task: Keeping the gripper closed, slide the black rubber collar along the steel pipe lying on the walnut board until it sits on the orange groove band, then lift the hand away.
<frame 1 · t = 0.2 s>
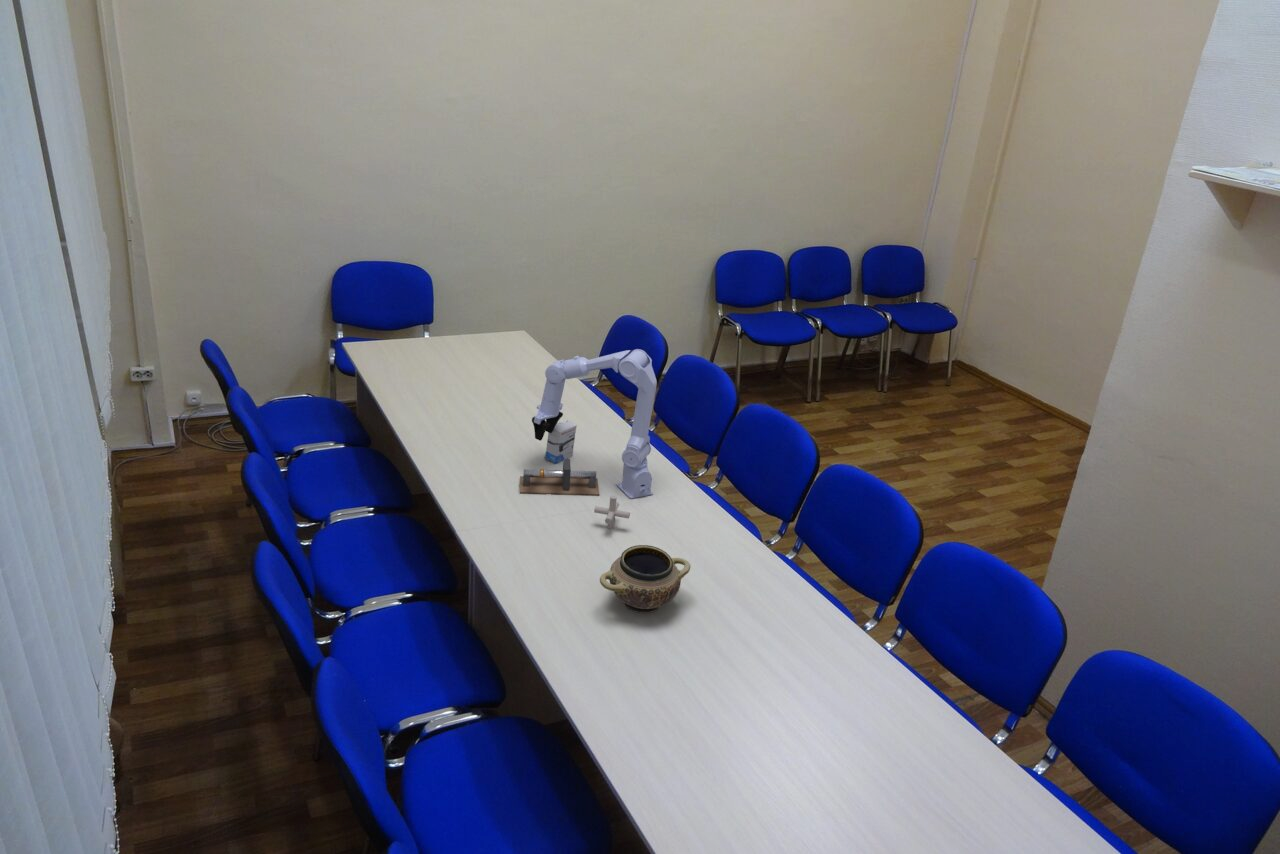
hand: (543, 435, 290), 11 cm above the table, tool pointing down, fingers open, 6 cm apart
walnut board: (559, 486, 283), on the table
ink box: (558, 457, 300), on the table, touching gripper
rubber collar: (566, 474, 281), point 4 cm above the table, slide at -2.0 cm
pipe connector: (610, 528, 264), on the table
ceramic bowl: (642, 603, 232), on the table
steel pipe: (559, 477, 281), on the walnut board, point 3 cm above the table
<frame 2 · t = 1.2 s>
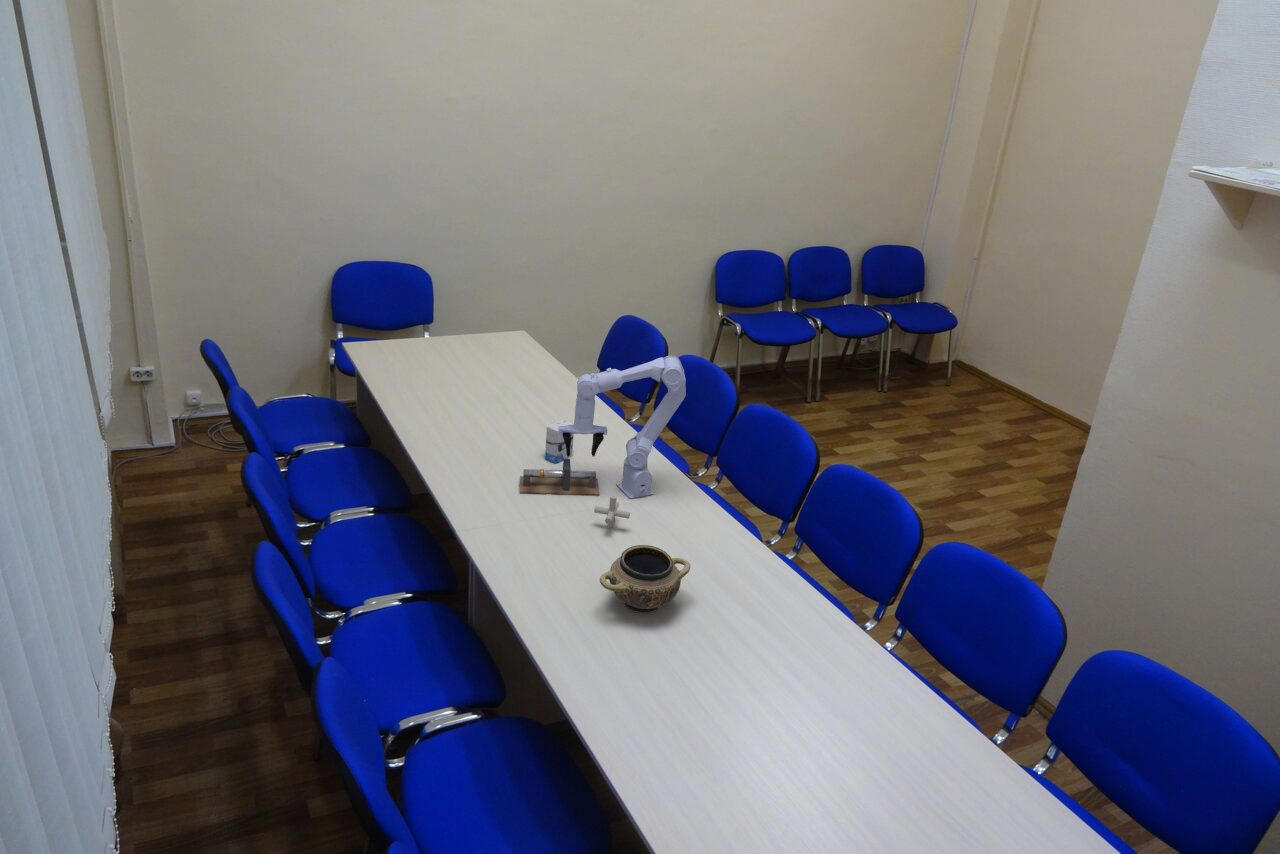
hand: (580, 455, 280), 11 cm above the table, tool pointing down, fingers open, 7 cm apart
ink box: (558, 458, 300), on the table
everything else where it was.
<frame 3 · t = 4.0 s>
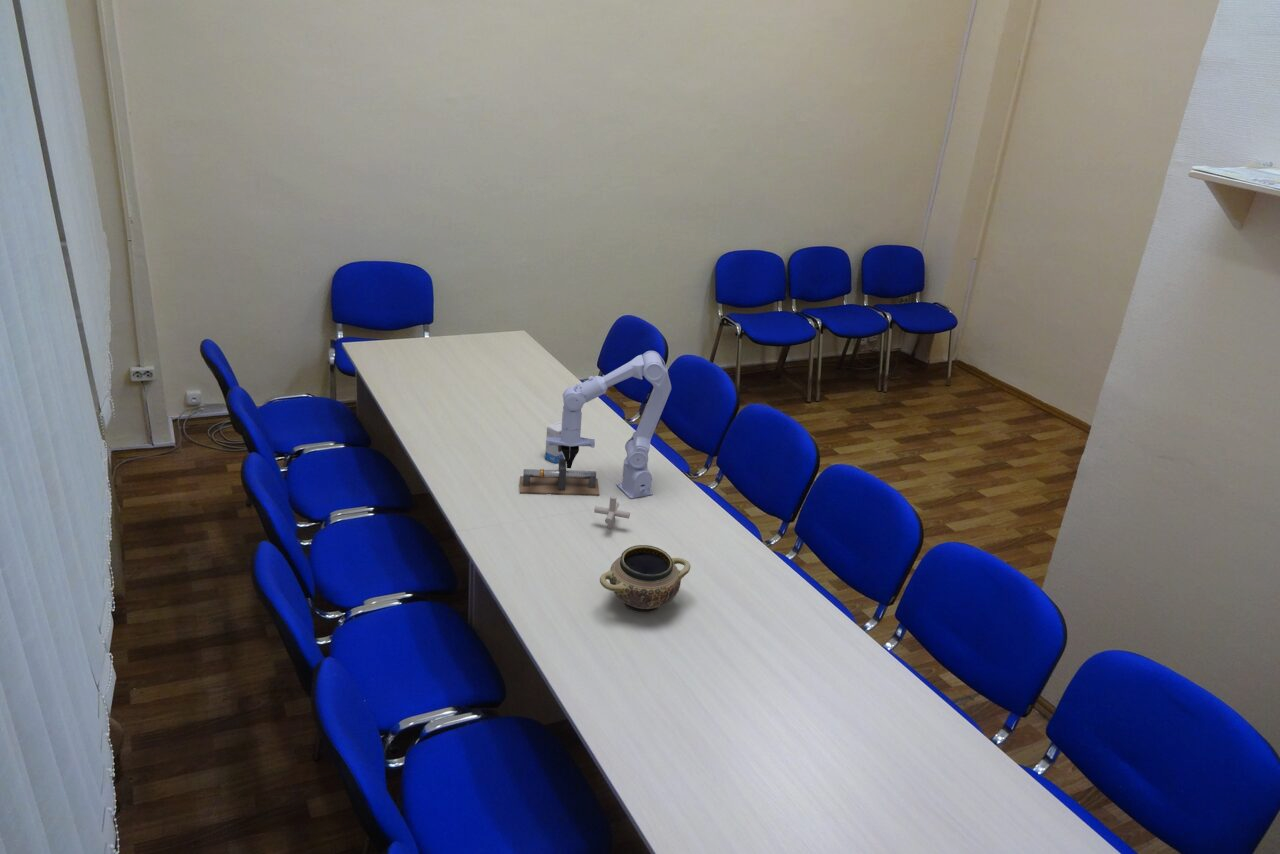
hand: (568, 466, 280), 7 cm above the table, tool pointing down, fingers closed
rubber collar: (562, 474, 281), point 4 cm above the table, slide at -0.7 cm, touching gripper
everything else where it was.
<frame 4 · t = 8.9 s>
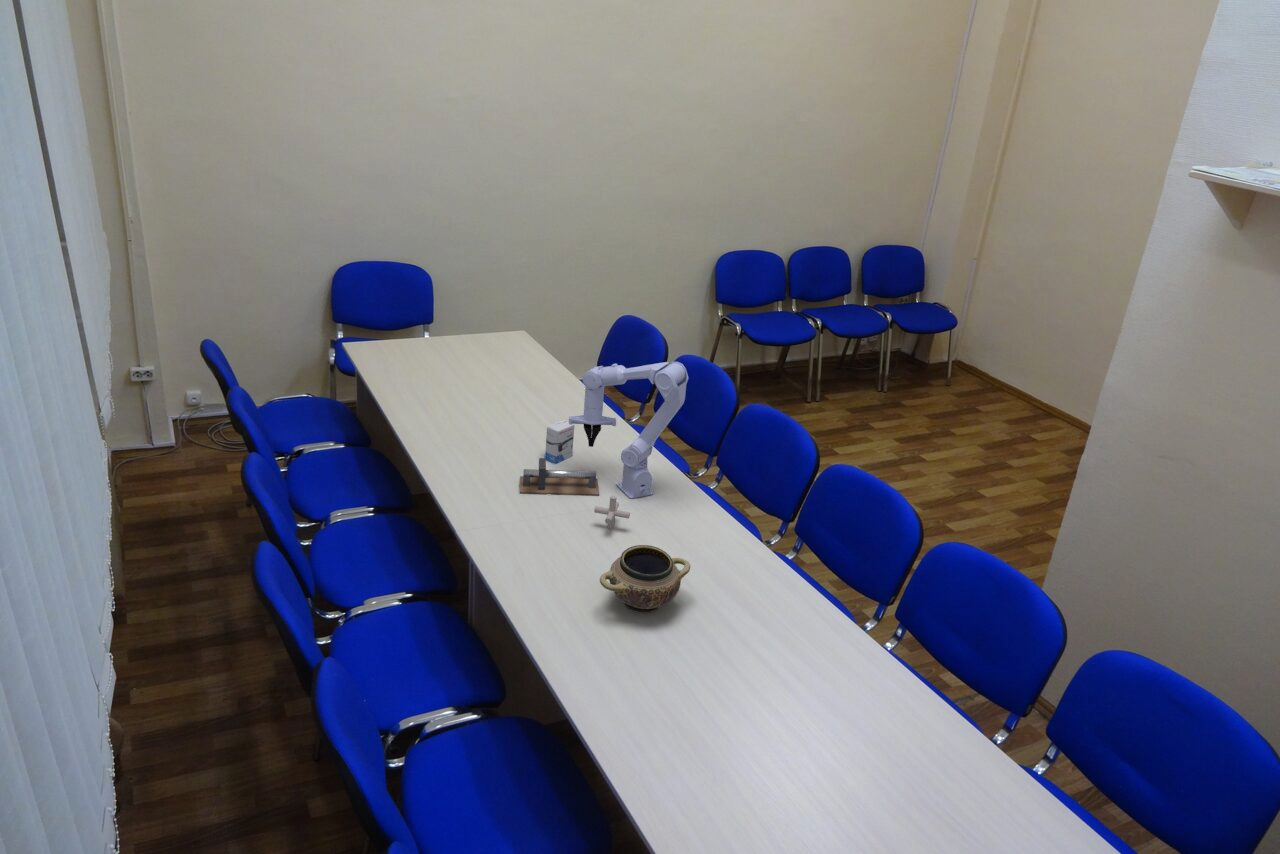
hand: (590, 445, 287), 10 cm above the table, tool pointing down, fingers closed
rubber collar: (542, 473, 280), point 4 cm above the table, slide at 5.4 cm
everything else where it was.
at the end: rubber collar slide at 5.4 cm; the gripper is holding nothing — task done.
